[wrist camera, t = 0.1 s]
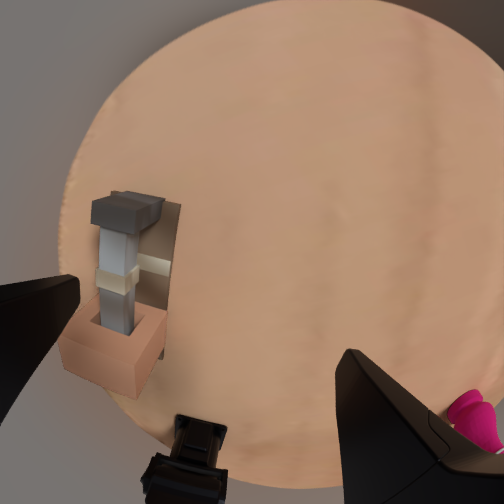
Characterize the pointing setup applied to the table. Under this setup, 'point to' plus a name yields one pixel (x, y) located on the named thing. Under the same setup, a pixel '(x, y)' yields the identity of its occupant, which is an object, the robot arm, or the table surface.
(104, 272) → the rail
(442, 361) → the table surface
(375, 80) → the table surface
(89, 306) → the collar
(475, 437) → the pepper mill
